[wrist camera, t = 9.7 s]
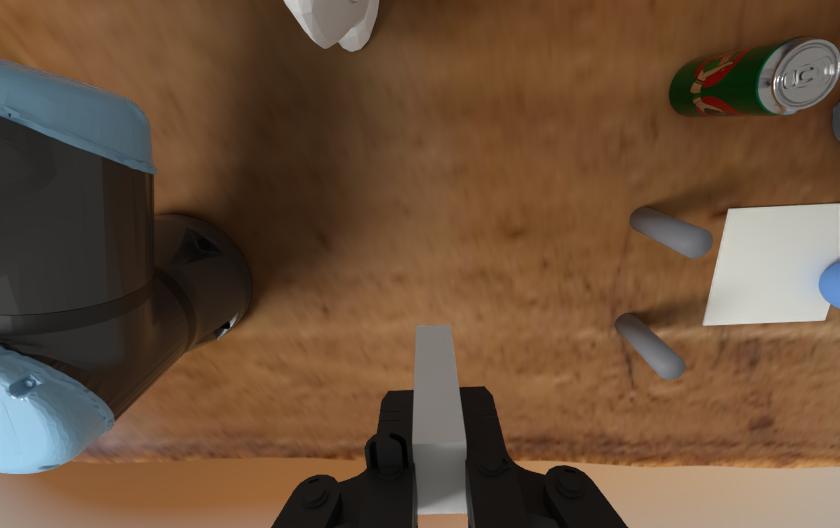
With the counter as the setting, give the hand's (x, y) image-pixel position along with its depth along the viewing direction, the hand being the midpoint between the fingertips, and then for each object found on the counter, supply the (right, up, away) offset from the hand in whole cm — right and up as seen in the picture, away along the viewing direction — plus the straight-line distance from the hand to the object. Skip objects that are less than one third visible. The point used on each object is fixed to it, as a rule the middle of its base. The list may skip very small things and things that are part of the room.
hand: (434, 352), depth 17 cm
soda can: (+26, +21, +20) cm, 39 cm away
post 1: (+23, +9, +25) cm, 35 cm away
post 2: (+24, -3, +29) cm, 38 cm away
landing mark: (+40, +4, +26) cm, 48 cm away
